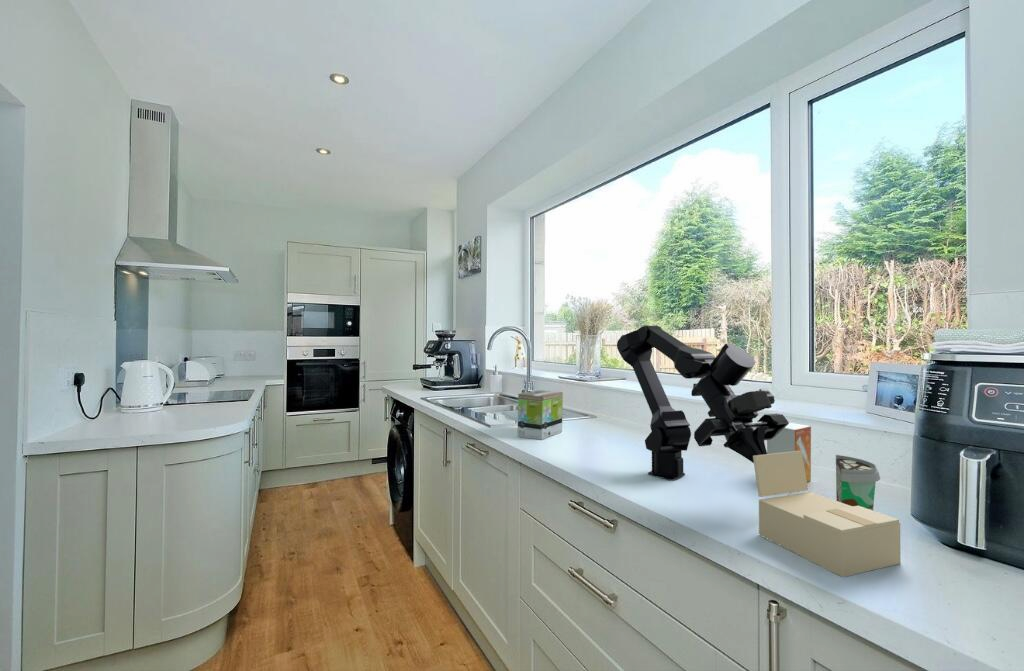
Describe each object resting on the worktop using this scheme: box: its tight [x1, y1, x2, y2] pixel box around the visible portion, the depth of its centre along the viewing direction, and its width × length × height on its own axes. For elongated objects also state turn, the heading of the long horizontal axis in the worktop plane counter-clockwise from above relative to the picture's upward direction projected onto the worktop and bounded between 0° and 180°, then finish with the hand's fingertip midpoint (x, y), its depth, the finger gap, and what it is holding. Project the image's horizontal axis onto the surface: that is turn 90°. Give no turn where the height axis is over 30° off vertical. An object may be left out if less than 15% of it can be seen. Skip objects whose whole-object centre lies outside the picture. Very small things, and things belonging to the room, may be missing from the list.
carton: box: [758, 491, 902, 578], centre depth 71 cm, size 14×12×7 cm
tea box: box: [517, 389, 564, 441], centre depth 155 cm, size 15×10×15 cm, turn 147°
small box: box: [766, 422, 812, 483], centre depth 104 cm, size 8×6×13 cm
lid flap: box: [753, 451, 809, 498], centre depth 79 cm, size 7×11×1 cm
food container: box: [835, 454, 881, 511], centre depth 83 cm, size 12×6×10 cm, turn 148°
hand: (767, 468), depth 81 cm, fingers closed
